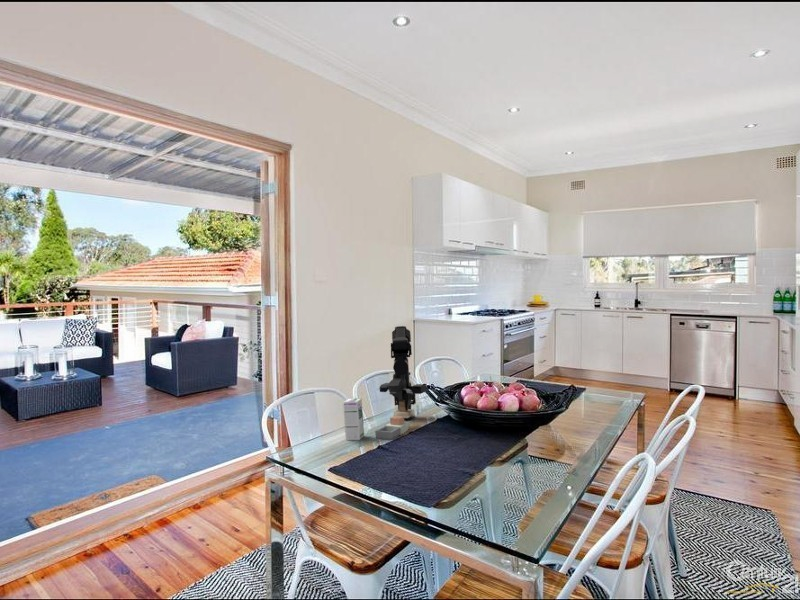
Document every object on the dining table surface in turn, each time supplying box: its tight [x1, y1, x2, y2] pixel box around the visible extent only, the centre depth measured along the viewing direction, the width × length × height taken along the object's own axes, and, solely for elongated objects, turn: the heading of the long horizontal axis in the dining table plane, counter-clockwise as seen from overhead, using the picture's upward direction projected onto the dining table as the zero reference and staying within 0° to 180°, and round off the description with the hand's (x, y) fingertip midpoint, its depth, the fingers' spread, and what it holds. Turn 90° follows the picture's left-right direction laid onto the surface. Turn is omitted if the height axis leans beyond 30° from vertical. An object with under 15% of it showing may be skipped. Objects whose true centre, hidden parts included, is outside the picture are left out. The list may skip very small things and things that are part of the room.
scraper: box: [393, 400, 415, 418], centre depth 192 cm, size 6×6×6 cm
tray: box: [374, 425, 402, 441], centre depth 180 cm, size 7×7×3 cm
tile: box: [389, 415, 405, 425], centre depth 187 cm, size 4×4×2 cm
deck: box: [384, 421, 410, 435], centre depth 186 cm, size 7×7×3 cm
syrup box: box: [342, 397, 365, 441], centre depth 181 cm, size 6×6×14 cm
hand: (403, 409), depth 192 cm, fingers closed on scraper, 2 cm apart
